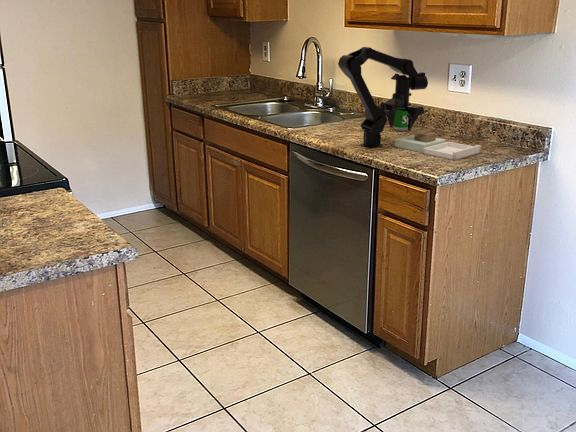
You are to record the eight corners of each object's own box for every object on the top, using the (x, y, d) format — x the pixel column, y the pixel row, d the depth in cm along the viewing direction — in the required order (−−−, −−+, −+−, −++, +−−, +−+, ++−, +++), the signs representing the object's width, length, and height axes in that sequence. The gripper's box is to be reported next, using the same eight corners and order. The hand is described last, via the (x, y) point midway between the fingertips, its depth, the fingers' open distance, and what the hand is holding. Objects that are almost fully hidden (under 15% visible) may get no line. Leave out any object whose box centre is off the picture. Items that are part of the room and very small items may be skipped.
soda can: (396, 131, 273) (398, 104, 269) (390, 128, 280) (391, 102, 276) (412, 131, 275) (414, 104, 271) (406, 127, 282) (407, 101, 278)
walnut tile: (414, 140, 244) (414, 132, 243) (423, 137, 247) (423, 130, 246) (426, 142, 239) (426, 135, 238) (435, 140, 243) (436, 132, 242)
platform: (394, 146, 247) (394, 139, 246) (416, 141, 256) (416, 134, 254) (423, 152, 237) (424, 145, 236) (445, 146, 245) (445, 139, 244)
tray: (422, 153, 235) (422, 145, 234) (448, 146, 246) (448, 139, 245) (454, 160, 225) (455, 152, 224) (480, 152, 235) (480, 145, 234)
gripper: (371, 90, 248) (369, 128, 253) (408, 95, 234) (405, 135, 240) (389, 87, 255) (387, 124, 260) (426, 92, 241) (423, 131, 247)
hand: (400, 129), depth 251 cm, fingers open, 9 cm apart
